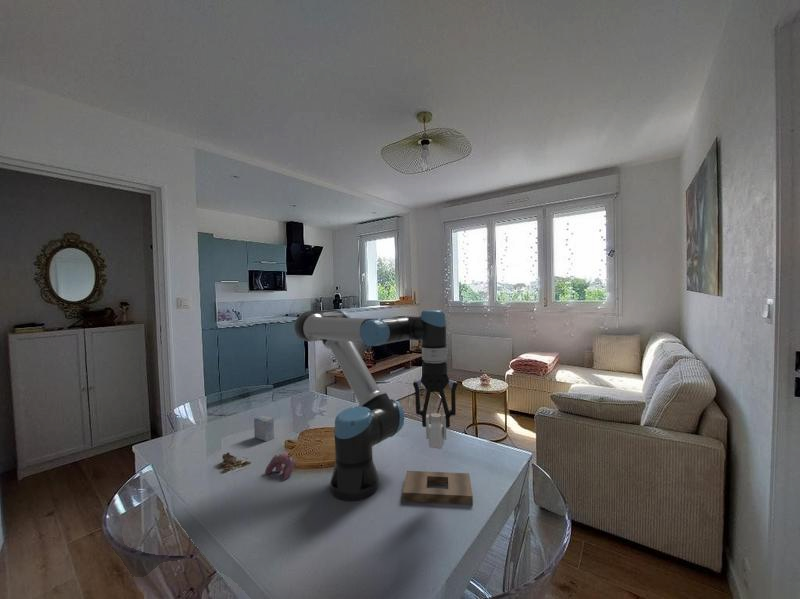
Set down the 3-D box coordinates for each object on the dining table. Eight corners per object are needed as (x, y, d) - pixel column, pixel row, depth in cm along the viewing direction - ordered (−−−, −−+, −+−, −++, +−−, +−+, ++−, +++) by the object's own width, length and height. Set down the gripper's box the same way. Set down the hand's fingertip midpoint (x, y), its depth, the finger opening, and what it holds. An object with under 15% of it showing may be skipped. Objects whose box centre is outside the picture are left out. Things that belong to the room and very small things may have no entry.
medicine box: (274, 438, 141) (274, 418, 141) (265, 442, 137) (265, 421, 137) (263, 434, 145) (262, 414, 145) (254, 438, 141) (253, 418, 141)
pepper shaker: (428, 448, 98) (427, 416, 98) (432, 442, 102) (431, 412, 102) (441, 450, 97) (440, 418, 96) (444, 444, 100) (443, 413, 100)
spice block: (402, 500, 95) (402, 492, 95) (407, 478, 107) (407, 470, 107) (472, 504, 92) (472, 496, 92) (469, 481, 104) (469, 473, 104)
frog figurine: (206, 470, 116) (206, 459, 116) (238, 455, 126) (237, 446, 126) (225, 479, 110) (225, 467, 110) (257, 462, 120) (256, 452, 120)
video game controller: (294, 479, 110) (300, 457, 113) (285, 479, 107) (291, 456, 109) (272, 473, 114) (278, 452, 117) (262, 473, 111) (269, 451, 114)
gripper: (404, 363, 97) (406, 441, 97) (464, 363, 94) (466, 443, 94) (407, 358, 104) (409, 431, 104) (463, 358, 102) (464, 433, 102)
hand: (436, 437), depth 99 cm, fingers closed on pepper shaker, 4 cm apart
